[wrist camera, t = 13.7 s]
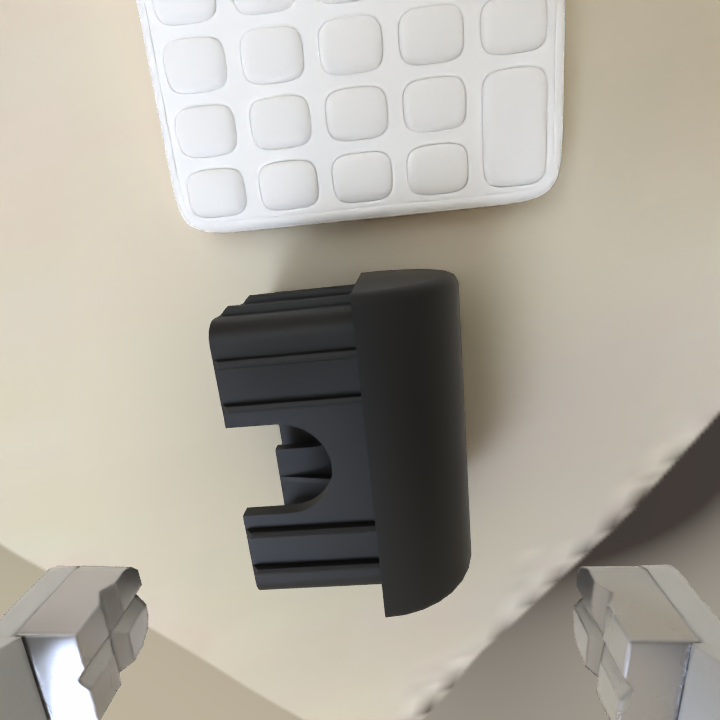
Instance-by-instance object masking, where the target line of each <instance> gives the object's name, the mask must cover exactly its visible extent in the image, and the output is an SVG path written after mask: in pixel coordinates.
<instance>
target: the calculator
mask: <svg viewBox="0 0 720 720" xmlns="http://www.w3.org/2000/svg"><path fill="white" fill-rule="evenodd" d="M137 6H138V11H139V16H140V21H141V26H142V32H143V37H144V42H145V47H146V52H147V58H148V63H149V68H150V73H151V78H152V84H153V89H154V94H155V99H156V105H157V110H158V115H159V120H160V125H161V131H162V136H163V141H164V146H165V151H166V156H167V161H168V166H169V172H170V177H171V181H172V185H173V190H174V194H175V198H176V202H177V205H178V207H179V210H180V212H181V215H182V217H183V219H184V220H185V221H186V222H187V223H188V224H189V225H190V226H191V227H193V228H195V229H198V230H200V231H204V232H214V233H222V232H240V231H250V230H260V229H270V228H280V227H290V226H300V225H310V224H320V223H329V222H339V221H349V220H359V219H369V218H379V217H389V216H398V215H408V214H418V213H428V212H438V211H448V210H458V209H467V208H477V207H487V206H496V205H505V204H511V203H517V202H523V201H527V200H530V199H534V198H537V197H540V196H541V195H543V194H544V193H546V192H547V191H549V190H550V189H551V187H552V186H553V184H554V183H555V181H556V180H557V177H558V173H559V168H560V164H561V153H562V138H563V96H564V42H565V0H137Z"/></svg>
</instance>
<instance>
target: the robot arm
mask: <svg viewBox="0 0 720 720" xmlns="http://www.w3.org/2000/svg"><path fill="white" fill-rule="evenodd" d="M141 585H142V584H141V580H140V576H139V572H138V570H137V569H134V568H132V567H110V566H56V567H54V568H51V569H49V570H48V571H47V572H46V573H45V574H44V575H43V576H42V577H41V578H40V579H39V580H38V581H37V582H36V583H35V584H34V585H33V586H32V587H31V588H30V589H29V590H28V591H27V592H26V593H25V594H24V595H23V596H22V597H21V598H20V599H19V600H18V601H17V602H16V603H15V604H14V605H13V606H12V607H11V608H10V609H9V610H8V611H7V612H6V613H5V614H4V615H3V616H2V617H1V618H0V720H101V718H102V716H103V715H104V713H105V711H106V709H107V708H108V706H109V704H110V703H111V701H112V699H113V697H114V696H115V694H116V692H117V691H118V689H119V687H120V685H121V679H120V671H122V670H123V669H125V668H126V667H127V666H128V665H130V664H131V663H132V662H134V661H135V659H136V657H137V656H138V654H139V652H140V650H141V648H142V646H143V644H144V640H145V637H146V633H147V630H148V611H147V606H146V604H145V603H144V602H143V601H142V600H141V599H140V598H139V597H138V596H137V595H136V593H137V592H138V590H139V588H140V587H141ZM576 587H577V588H578V591H579V592H580V595H581V596H582V598H581V599H580V600H579V601H578V602H577V604H575V605H574V613H573V626H574V634H575V640H576V643H577V646H578V650H579V653H580V655H581V658H582V660H583V662H584V664H585V667H586V668H588V669H589V670H590V671H591V672H592V673H594V674H595V675H596V676H597V677H598V685H597V694H598V696H599V698H600V700H601V703H602V705H603V707H604V709H605V711H606V714H607V716H608V718H609V720H720V619H718V617H717V616H716V615H715V614H714V612H713V611H712V610H711V609H710V608H709V606H708V605H707V604H706V603H705V602H704V601H703V599H702V598H701V597H700V596H699V595H698V593H697V592H696V591H695V590H694V589H693V588H692V586H691V585H690V584H689V583H688V582H687V581H686V579H685V578H684V577H683V576H682V575H681V573H680V572H679V571H678V570H677V569H676V568H674V567H672V566H671V565H645V566H644V565H641V566H638V567H637V566H610V567H609V566H607V567H605V566H603V567H580V569H579V571H578V573H577V580H576Z"/></svg>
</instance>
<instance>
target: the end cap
mask: <svg viewBox="0 0 720 720" xmlns="http://www.w3.org/2000/svg"><path fill="white" fill-rule="evenodd" d="M209 343H210V350H211V355H212V360H213V365H214V370H215V375H216V380H217V385H218V390H219V396H220V401H221V406H222V411H223V416H224V421H225V426H226V428H234V427H247V426H260V425H273V424H279V426H280V432H281V439H282V445H278V446H277V448H276V456H277V462H278V468H279V474H280V480H281V486H282V492H283V498H284V504H285V505H282V506H266V507H251V508H247V509H246V511H245V513H244V515H243V518H244V524H245V529H246V534H247V539H248V544H249V549H250V554H251V559H252V565H253V570H254V575H255V580H256V584H257V587H258V589H259V590H268V589H288V588H308V587H328V586H349V585H369V584H382V590H383V599H384V608H385V617H392V616H400V615H406V614H410V613H413V612H417V611H420V610H423V609H425V608H427V607H429V606H432V605H434V604H436V603H438V602H440V601H441V600H442V599H444V598H445V597H446V596H448V595H449V594H450V593H452V592H453V591H454V589H455V588H456V587H457V586H458V585H459V584H460V583H461V581H462V580H463V578H464V576H465V574H466V572H467V570H468V568H469V563H470V558H471V538H470V517H469V496H468V475H467V454H466V432H465V411H464V390H463V369H462V348H461V327H460V305H459V284H458V280H457V278H456V276H455V275H454V274H453V273H450V272H447V271H443V270H431V269H410V270H389V271H375V272H364V273H361V274H360V276H359V278H358V280H357V282H356V284H353V285H343V286H333V287H323V288H313V289H302V290H292V291H282V292H275V293H269V294H259V295H250V296H249V297H248V298H247V299H246V300H245V302H244V303H243V304H241V305H236V306H228V307H227V308H226V309H225V310H224V311H223V313H222V314H221V315H220V316H219V317H217V318H215V319H213V320H212V322H211V324H210V328H209Z"/></svg>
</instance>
